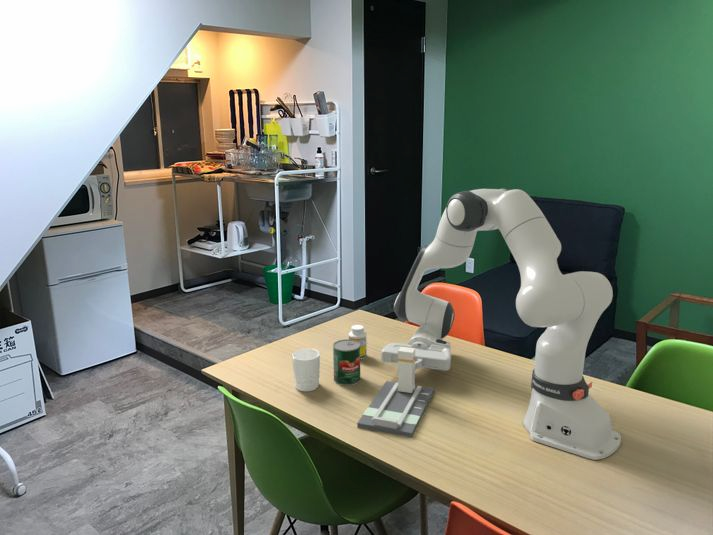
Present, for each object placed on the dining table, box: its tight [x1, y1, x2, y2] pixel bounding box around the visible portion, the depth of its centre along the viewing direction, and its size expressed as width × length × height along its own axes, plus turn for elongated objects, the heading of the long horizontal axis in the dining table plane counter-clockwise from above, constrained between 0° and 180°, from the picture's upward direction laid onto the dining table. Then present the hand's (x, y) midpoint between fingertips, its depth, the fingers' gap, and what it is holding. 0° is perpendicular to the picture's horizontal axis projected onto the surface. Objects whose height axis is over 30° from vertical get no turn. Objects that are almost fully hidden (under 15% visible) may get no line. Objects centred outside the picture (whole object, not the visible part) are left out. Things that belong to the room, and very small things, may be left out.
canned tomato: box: [332, 338, 361, 386], centre depth 168 cm, size 8×8×11 cm
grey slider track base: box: [356, 380, 435, 438], centre depth 152 cm, size 14×24×3 cm, turn 160°
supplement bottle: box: [348, 324, 368, 360], centre depth 183 cm, size 6×6×10 cm
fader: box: [397, 347, 416, 393], centre depth 158 cm, size 4×3×12 cm
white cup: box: [291, 348, 321, 392], centre depth 164 cm, size 8×8×10 cm
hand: (409, 367), depth 160 cm, fingers closed
